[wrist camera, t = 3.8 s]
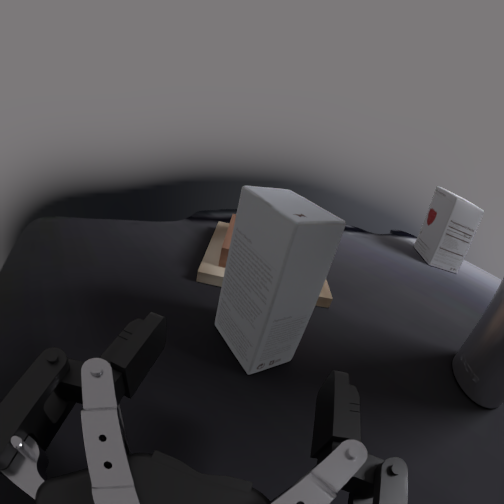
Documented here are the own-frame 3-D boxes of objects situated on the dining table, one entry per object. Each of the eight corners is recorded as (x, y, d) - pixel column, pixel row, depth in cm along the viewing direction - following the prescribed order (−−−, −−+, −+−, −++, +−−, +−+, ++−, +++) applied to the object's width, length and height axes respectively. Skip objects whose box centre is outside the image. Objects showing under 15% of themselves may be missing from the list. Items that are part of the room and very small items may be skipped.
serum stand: (311, 249, 42) (318, 228, 40) (328, 307, 29) (340, 281, 28) (217, 229, 41) (221, 206, 39) (196, 281, 28) (200, 252, 27)
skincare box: (292, 361, 21) (350, 222, 16) (246, 377, 19) (297, 222, 14) (254, 315, 26) (290, 187, 20) (211, 323, 23) (239, 183, 18)
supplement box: (412, 246, 56) (435, 184, 50) (440, 255, 56) (463, 197, 50) (428, 265, 48) (456, 195, 42) (457, 274, 48) (485, 210, 42)
